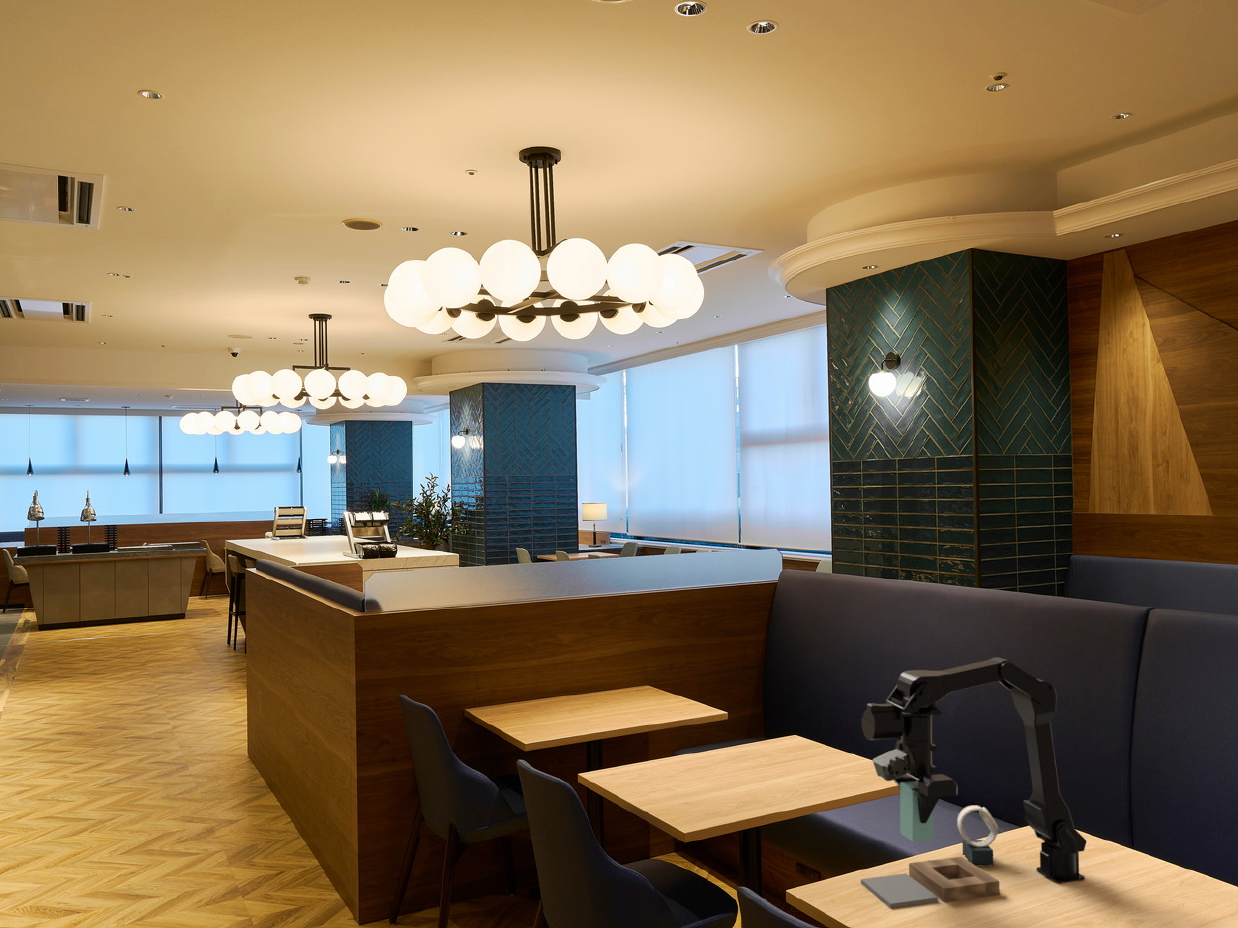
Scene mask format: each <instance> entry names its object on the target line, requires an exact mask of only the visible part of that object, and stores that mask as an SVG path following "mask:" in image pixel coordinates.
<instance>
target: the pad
mask: <svg viewBox="0 0 1238 928" xmlns="http://www.w3.org/2000/svg"><path fill="white" fill-rule="evenodd" d="M860 884H861V885H862V886H864V888H866V889H867V890H868V891H869V892H871V893H872V894H873V895H874V896H875V897H876V898H878V899H879V900H880V901H881V902H882V903H883V904H885V906H888V907H889V908H890V909H892V908H900V907H909V906H915V905H922V904H929V903H936V902H939V898H938V897H937V896H936V895H934V894H933V893H932V892H930V891H929V890H928V889H926V888H925V887H924V886H922V885H921V884H920V883H918V882H917V881H916V880H914V879H913V878H912V877H910V876H909V873H898V874H891V875H890V874H889V875H883V876H876V877H867V878H860Z"/></svg>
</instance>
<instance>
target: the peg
mask: <svg viewBox="0 0 1238 928" xmlns="http://www.w3.org/2000/svg"><path fill="white" fill-rule="evenodd" d="M911 788H918V781H912V782H900V790H899V794H900V795H899V796H900V797H899V803H900V804H899V805H900V806H899V815H900V817H899V820H900V821H899V828H900V829H899V832H900V833H899V834H900V835H902V837H904V838H906V839H907V840H909V841H910V842H911V843H918V842H928V841H929V842H931V841H934V810H933V811H932V813H931V815H930V817H929V819H928V820H927V822H926V823H921V822H920V817H919V808H918V797H917V795H916V794H915V793H914V792H913V791H912V790H911Z"/></svg>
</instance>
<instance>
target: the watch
mask: <svg viewBox="0 0 1238 928" xmlns="http://www.w3.org/2000/svg"><path fill="white" fill-rule="evenodd" d="M975 811H976V812H977V811H978V813H979V816H980V817H981V819H982V821H983V822H984V823H985V825H986V827H987V828H988V829H989V830H990V833H989V834H988V836H987V837H986V838H985V839H971V838H970V837H969V836H968V835H967V833H966V830H965V828H964V824H963V821H964V819H965V817H966V816H967V815H968V814H970V813H973V812H975ZM956 823H957V824H956V827H957V829H958V831H959V833H960V835H961V837H962V856H963V855H965V857H966V858H967V859H968V860H967V859H966V858H965V857H964V858H965V859H966V860H967V861H969V862H971V863H972V864H974V865H993V866H994V850H993V848H991V847H990V845H991V844H992V843H993V842H994V841H996V838H997V836H998V835H999V834H998V830H999V829H1000V828H999V825H998V824H997V822H996V820H995V819H994V817H993V816H992V814H991V813H990V812H989V810H988V809H987V808H986V807H984V806H983V807H981V806H980V805H977V804H976V805H968V806H965V807H964V808H962V809H961V811H960V812H959V813H958V815H957V819H956Z"/></svg>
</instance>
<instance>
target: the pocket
mask: <svg viewBox="0 0 1238 928" xmlns="http://www.w3.org/2000/svg"><path fill="white" fill-rule="evenodd" d="M908 870H909V872H908V875H909V876H910V877H912V878H913V879H914V880H916V881H917V882H918V883H920V884H921V885H922V886H924V887H925V888H926V889H928V890H929V891H930V892H932V893H933V894H934V895H936V896H937V897H938V899H940V900H941V901H943V902H944V903H946V902H953V901H961V900H962V901H963V900H969V899H977V898H981V897H982V898H983V897H990V896H996V895H1001V894H1000V893H1001V892H1000V881H999V879H996V877H994V876H992V875H990V873H987V872H986V871H984V870H983V869H981V868H980V867H978V866H975V865H974V864H972V863H971V862H969V861H968V860H967V859H966V858H965V857H964V856H963V857H962V856H956V857H949V858H940V859H932V860H925V861H918V862H917V861H916V862H909V863H908Z"/></svg>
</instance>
